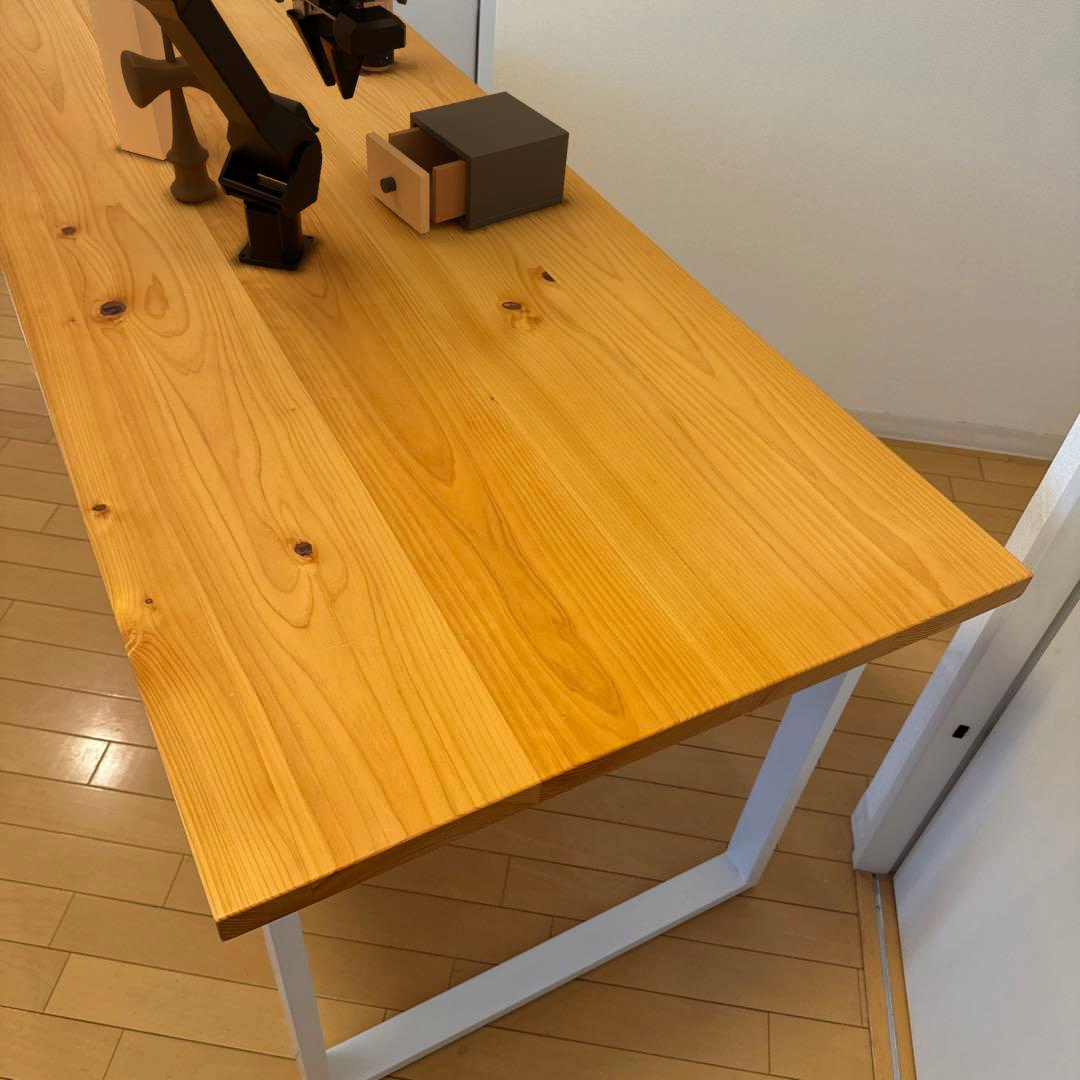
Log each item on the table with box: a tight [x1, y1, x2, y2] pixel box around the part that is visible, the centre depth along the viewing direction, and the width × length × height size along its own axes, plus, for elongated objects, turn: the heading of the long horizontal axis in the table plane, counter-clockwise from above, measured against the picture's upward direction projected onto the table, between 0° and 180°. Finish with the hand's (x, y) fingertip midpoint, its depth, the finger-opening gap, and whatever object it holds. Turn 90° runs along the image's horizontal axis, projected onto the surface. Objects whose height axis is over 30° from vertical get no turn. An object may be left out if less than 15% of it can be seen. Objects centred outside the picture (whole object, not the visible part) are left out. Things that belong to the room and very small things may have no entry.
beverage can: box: [357, 0, 395, 72], centre depth 141 cm, size 6×6×12 cm
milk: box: [87, 0, 184, 161], centre depth 115 cm, size 6×6×22 cm
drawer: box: [365, 126, 468, 235], centre depth 115 cm, size 14×11×7 cm
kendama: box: [120, 28, 218, 203], centre depth 109 cm, size 6×10×20 cm, turn 124°
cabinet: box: [409, 91, 570, 231], centre depth 119 cm, size 14×13×9 cm
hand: (339, 92), depth 108 cm, fingers open, 3 cm apart
